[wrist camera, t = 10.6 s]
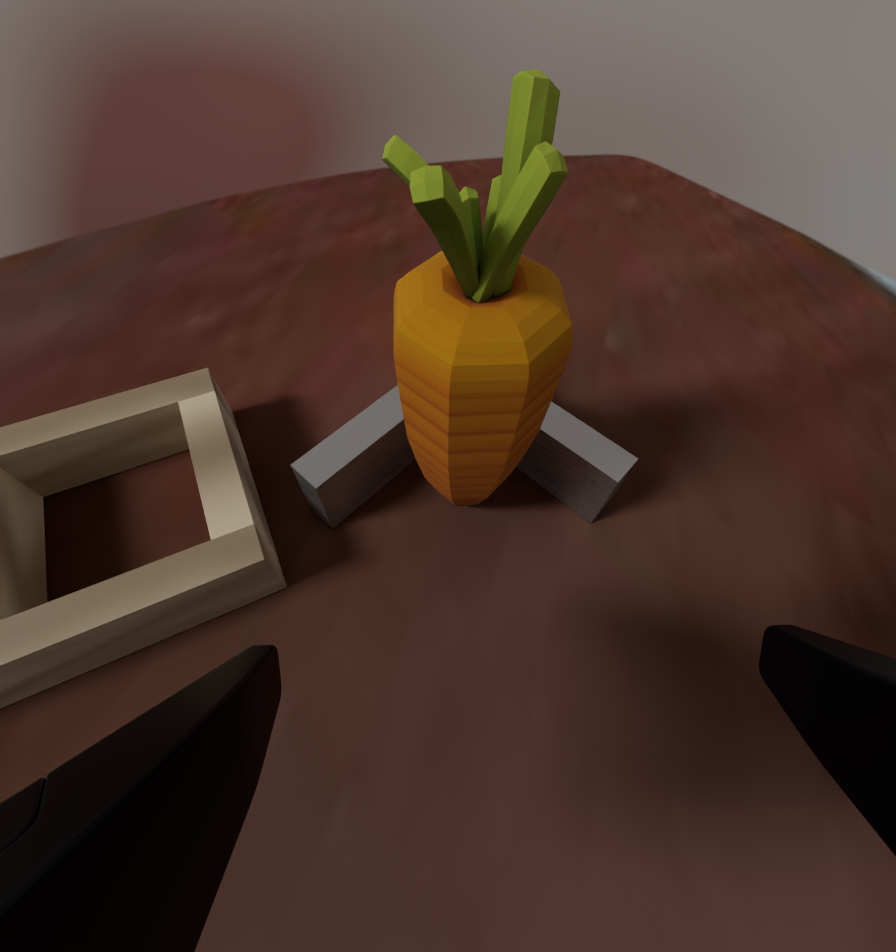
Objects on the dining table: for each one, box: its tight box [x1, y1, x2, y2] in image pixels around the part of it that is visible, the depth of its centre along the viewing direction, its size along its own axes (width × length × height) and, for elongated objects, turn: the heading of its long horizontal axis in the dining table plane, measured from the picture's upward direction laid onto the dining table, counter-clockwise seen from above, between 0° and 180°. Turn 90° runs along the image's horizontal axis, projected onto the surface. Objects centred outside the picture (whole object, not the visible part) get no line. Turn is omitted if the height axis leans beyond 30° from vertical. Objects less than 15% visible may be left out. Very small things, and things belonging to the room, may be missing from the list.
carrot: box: [382, 69, 573, 506], centre depth 15 cm, size 5×5×15 cm
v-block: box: [291, 385, 638, 529], centre depth 21 cm, size 9×13×4 cm, turn 92°
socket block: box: [0, 368, 287, 709], centre depth 18 cm, size 10×14×3 cm
